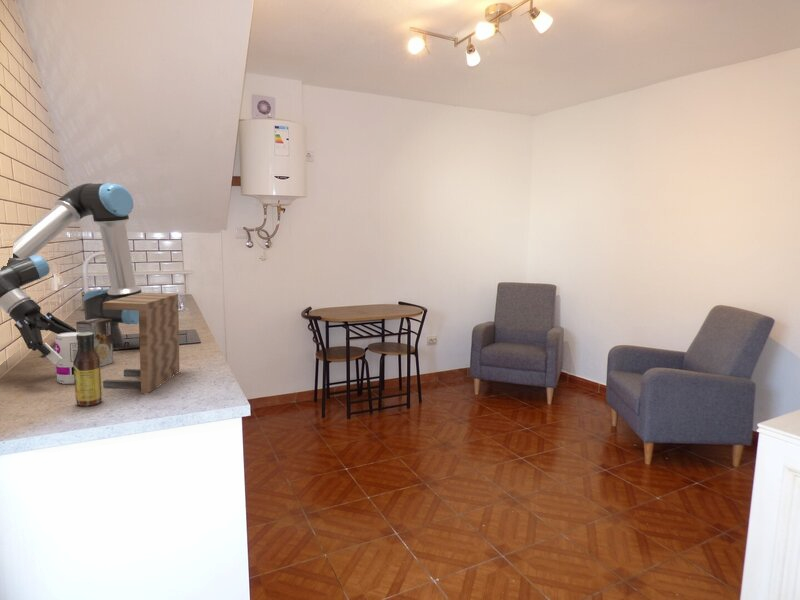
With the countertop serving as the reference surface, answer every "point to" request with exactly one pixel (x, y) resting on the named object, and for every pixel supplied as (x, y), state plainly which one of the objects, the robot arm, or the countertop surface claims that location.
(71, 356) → the supplement can
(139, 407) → the countertop surface
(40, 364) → the countertop surface
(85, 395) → the sauce bottle
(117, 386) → the overhang shelf
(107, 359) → the coffee box
